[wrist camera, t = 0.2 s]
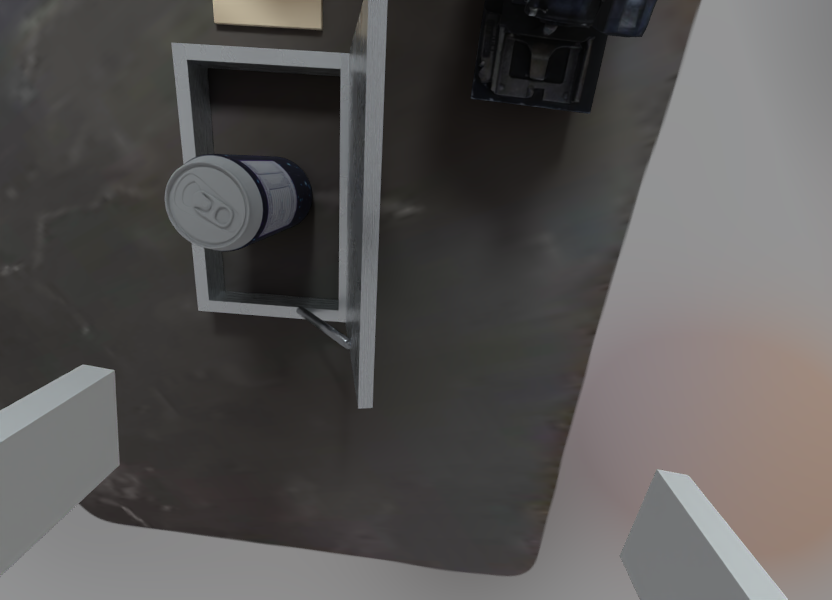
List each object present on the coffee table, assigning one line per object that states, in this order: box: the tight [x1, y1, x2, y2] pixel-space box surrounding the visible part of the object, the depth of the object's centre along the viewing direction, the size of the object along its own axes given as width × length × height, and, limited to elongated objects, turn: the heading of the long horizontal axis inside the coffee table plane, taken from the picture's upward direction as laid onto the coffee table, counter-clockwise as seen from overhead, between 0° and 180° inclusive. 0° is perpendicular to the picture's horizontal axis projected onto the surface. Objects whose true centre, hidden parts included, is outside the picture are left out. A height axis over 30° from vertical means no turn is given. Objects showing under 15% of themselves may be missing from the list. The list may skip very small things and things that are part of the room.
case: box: [172, 0, 388, 409], centre depth 28 cm, size 20×17×16 cm
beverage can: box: [165, 154, 312, 252], centre depth 30 cm, size 6×6×12 cm
